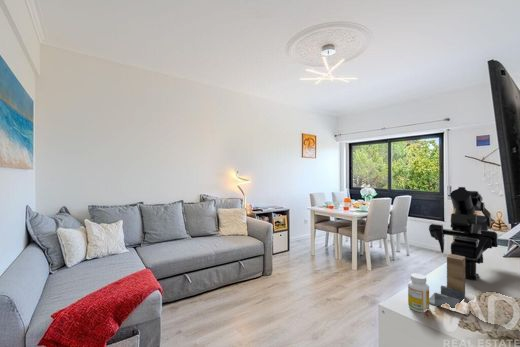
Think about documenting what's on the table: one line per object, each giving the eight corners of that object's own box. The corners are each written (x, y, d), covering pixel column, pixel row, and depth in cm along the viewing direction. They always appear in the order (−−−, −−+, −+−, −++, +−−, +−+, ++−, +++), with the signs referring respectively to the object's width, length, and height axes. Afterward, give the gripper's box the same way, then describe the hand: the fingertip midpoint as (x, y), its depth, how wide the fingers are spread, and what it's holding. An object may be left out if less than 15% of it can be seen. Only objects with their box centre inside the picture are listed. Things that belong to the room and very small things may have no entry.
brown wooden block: (450, 292, 85) (449, 253, 85) (465, 296, 82) (465, 256, 82) (446, 296, 82) (446, 256, 82) (462, 301, 80) (462, 259, 79)
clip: (434, 293, 84) (434, 283, 84) (473, 305, 77) (473, 294, 77) (426, 302, 79) (426, 291, 79) (467, 316, 71) (467, 303, 71)
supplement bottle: (421, 302, 79) (421, 271, 79) (433, 312, 74) (433, 279, 73) (404, 303, 79) (404, 272, 79) (415, 313, 73) (415, 280, 73)
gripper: (429, 202, 96) (422, 237, 89) (497, 207, 83) (494, 248, 75) (434, 219, 102) (428, 254, 94) (498, 227, 88) (496, 267, 81)
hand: (458, 255), depth 86 cm, fingers open, 9 cm apart
